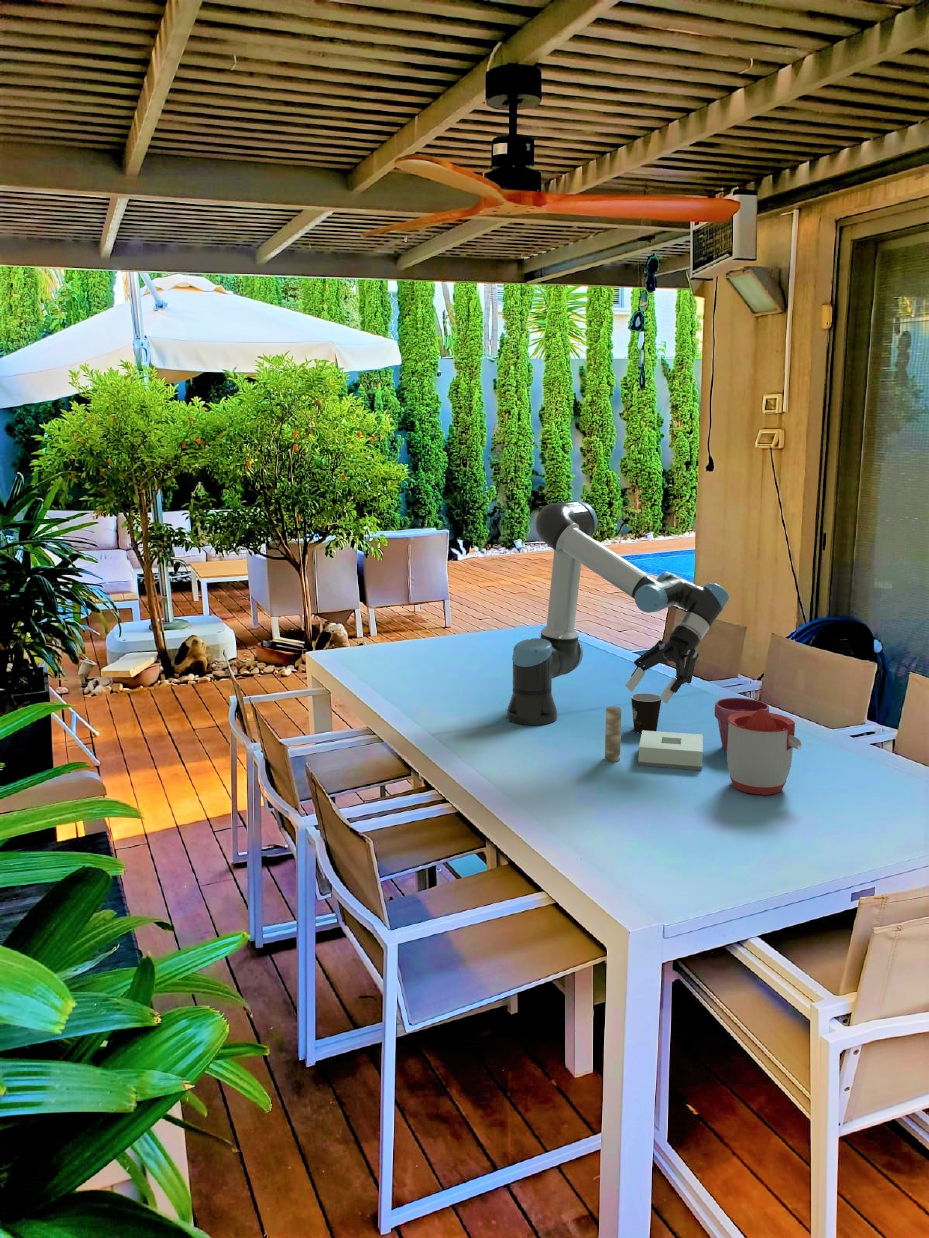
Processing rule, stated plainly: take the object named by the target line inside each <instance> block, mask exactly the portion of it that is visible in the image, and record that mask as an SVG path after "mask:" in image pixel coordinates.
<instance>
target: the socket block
mask: <svg viewBox="0 0 929 1238" xmlns="http://www.w3.org/2000/svg"><path fill="white" fill-rule="evenodd" d="M640 734H641V733H640ZM703 741H704V739H703V734H701V733H700V734H699V733H697V734H696V733H686V732H685V733H684V732H672V731H670V732H668V731H659V730H657V731H644V730H642V734H641V735H640V740H639V746H638V764H637V765H638V766H644V767H654V768H655V767H656V768H666V767H667V768H669V769H678V770H679V769H682V770H695V771H702V770H703V769H702V768H703V753H704V751H703V748H704V747H703V745H704V744H703V743H704V742H703Z"/></svg>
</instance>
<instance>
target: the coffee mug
mask: <svg viewBox="0 0 929 1238" xmlns="http://www.w3.org/2000/svg"><path fill="white" fill-rule="evenodd" d="M660 696H661V695H658V694H655V693H650V692H649V693H648V692H644V693H643V692H642V693H641V692H640V693H634V694H632V695H631V697H630V700H631V701H630V702H631V709H632V710H631V711H632V712H631V713H632V721H633V722H632V723H633V731H634V732H635V733H637V732H639V733H638V734H641V733H642V730H644V731H658V724H659V723H658V722H659V716H660V710H661V705H662V699H661V698H660Z"/></svg>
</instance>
